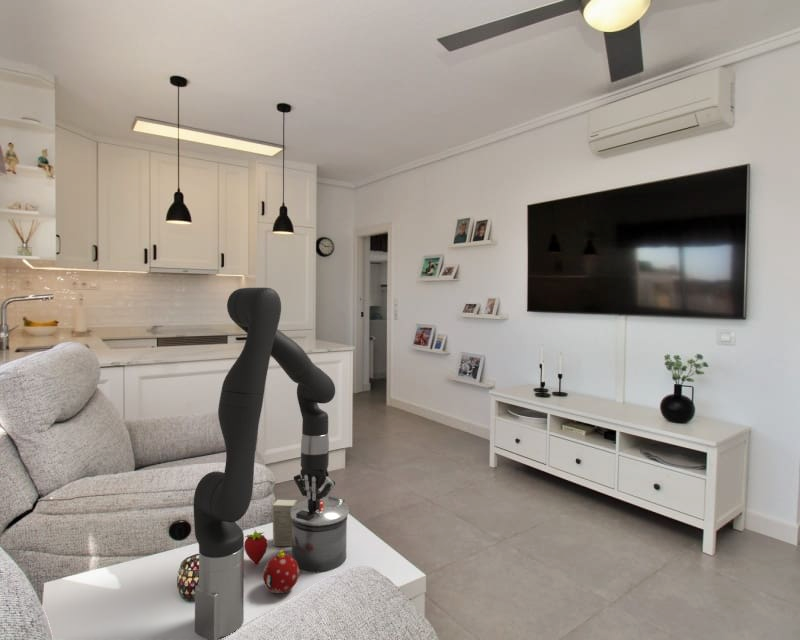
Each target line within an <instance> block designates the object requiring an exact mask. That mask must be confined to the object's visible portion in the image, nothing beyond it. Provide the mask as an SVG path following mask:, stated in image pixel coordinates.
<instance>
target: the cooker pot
mask: <svg viewBox="0 0 800 640" xmlns="http://www.w3.org/2000/svg"><path fill="white" fill-rule="evenodd" d="M291 521H292V546H291V556H292V557H293V558H294V559H295V560H296V562H297V564H298V567H299V571H303V572H305V573H324V572H328V571H333V570H335V569H338V568H339V567H341V566H342V565H343V564H344V562H345V561H346V560H347V536H348V535H347V530H348V527H347V524H348V523H347V522H348V516H347V517H346V518H345V519H343V520H342V521H340V522H337V523H334V524H330V525H325V526H308V525H302V524H299V523H297V522H295V521H293V520H292V519H291Z"/></svg>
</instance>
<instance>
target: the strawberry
mask: <svg viewBox="0 0 800 640" xmlns="http://www.w3.org/2000/svg"><path fill="white" fill-rule="evenodd" d="M264 533H265V532H264V531H263V532H257V530H256V529H254V532H253V534H247V535H244V538H246V539H244V552H245V553H246V554H245V555H247V557H248V558H249V559H250V561H252V562H253V564H254V565H255V566H256V565H258V564H260V561H261V560H262V559H263V558H264V556H265V555H266V553H267V549H268V540H267V538H266V537H265V535H264Z"/></svg>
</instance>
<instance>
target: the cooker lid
mask: <svg viewBox="0 0 800 640" xmlns="http://www.w3.org/2000/svg"><path fill="white" fill-rule="evenodd" d="M349 508H350V507H349V505H348V504H347V503H346V501H345V499H342V498H338V497H333V496H328V497H324V498H322V499H320V505H319V511H318V512H317V513H315V514H314V513H312V512H309V510H308V499H304V500H302V501H299V502H297V504H295V505H294V506H293V507H292V508H291V510H290V517H291V519H292V520H293V521H295V522H297V523H299V524H302V525H308V526H325V525H330V524H334V523H337V522H340V521H342V520H343V519H345V518H346V517H347V518H348V515H349V513H350V511H349Z"/></svg>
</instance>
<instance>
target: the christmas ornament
mask: <svg viewBox="0 0 800 640" xmlns="http://www.w3.org/2000/svg"><path fill="white" fill-rule="evenodd" d="M299 574H300V569H299V567H298V564H297V562H296V560H295V559H294V558H293V557H292V555H290V554H288V553H285V550H284V549H283V550H282V549H280V550H279V551H278V554H276V555H275V556H273V557H271V558H270V559H269V560H268V561H267V562H266V564H265V566H264V569H263V573H262V578H263V579H262V580H263V583H264V585H265V587H266V588H267V590H269V591H270V592H272V593H274V594H283V593H286V592H287V593H288V592H289V591H290V590H291V589H293V587H294V586H295V585H296V583H297V581H298V579H299V576H300V575H299Z"/></svg>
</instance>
